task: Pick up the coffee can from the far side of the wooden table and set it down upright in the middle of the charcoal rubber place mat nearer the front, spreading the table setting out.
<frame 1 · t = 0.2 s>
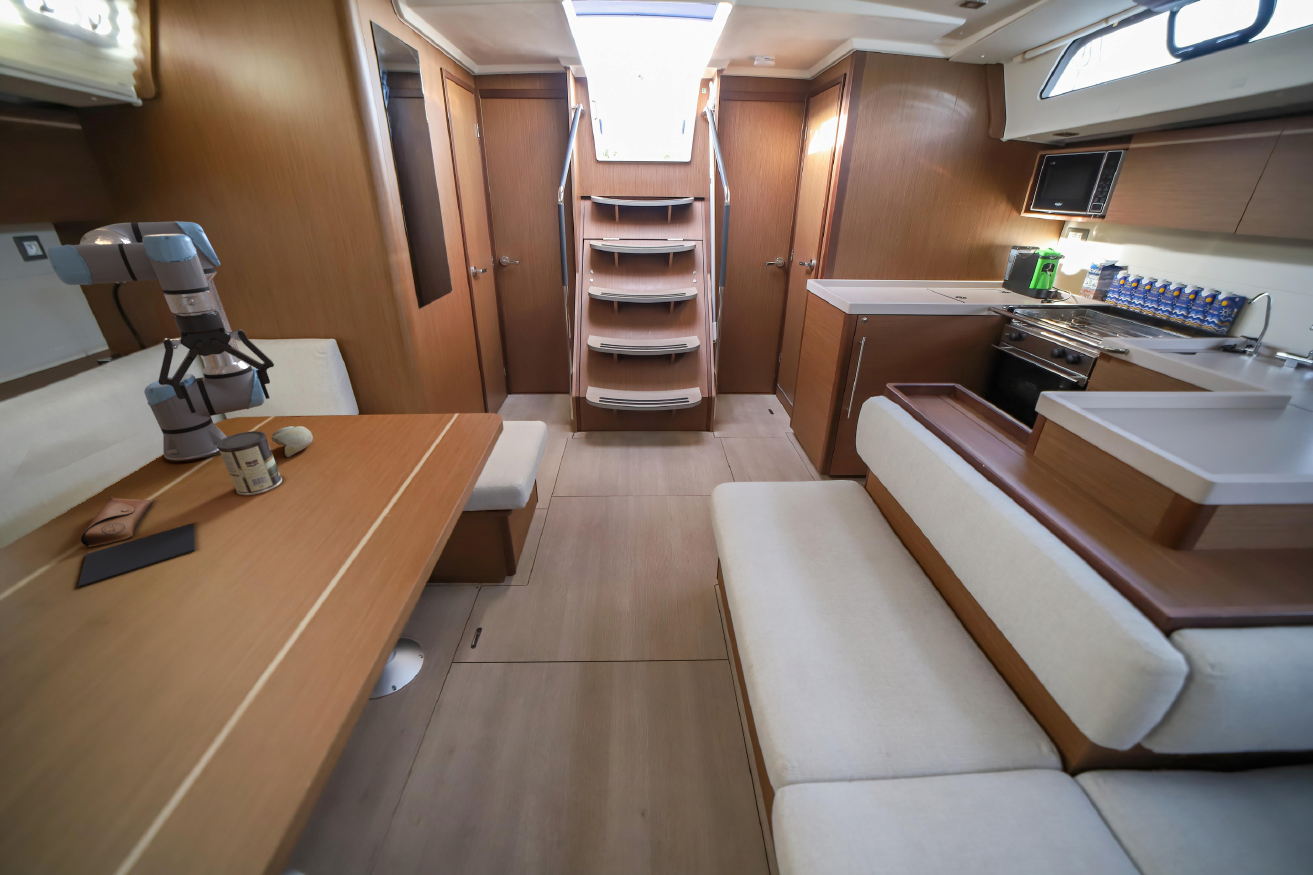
hand: (231, 404, 116), 28 cm above the table, tool pointing down, fingers open, 13 cm apart
sunglasses case: (123, 523, 120), on the table
place mat: (141, 553, 110), on the table
seashell: (296, 449, 156), on the table
coffee can: (259, 486, 136), on the table
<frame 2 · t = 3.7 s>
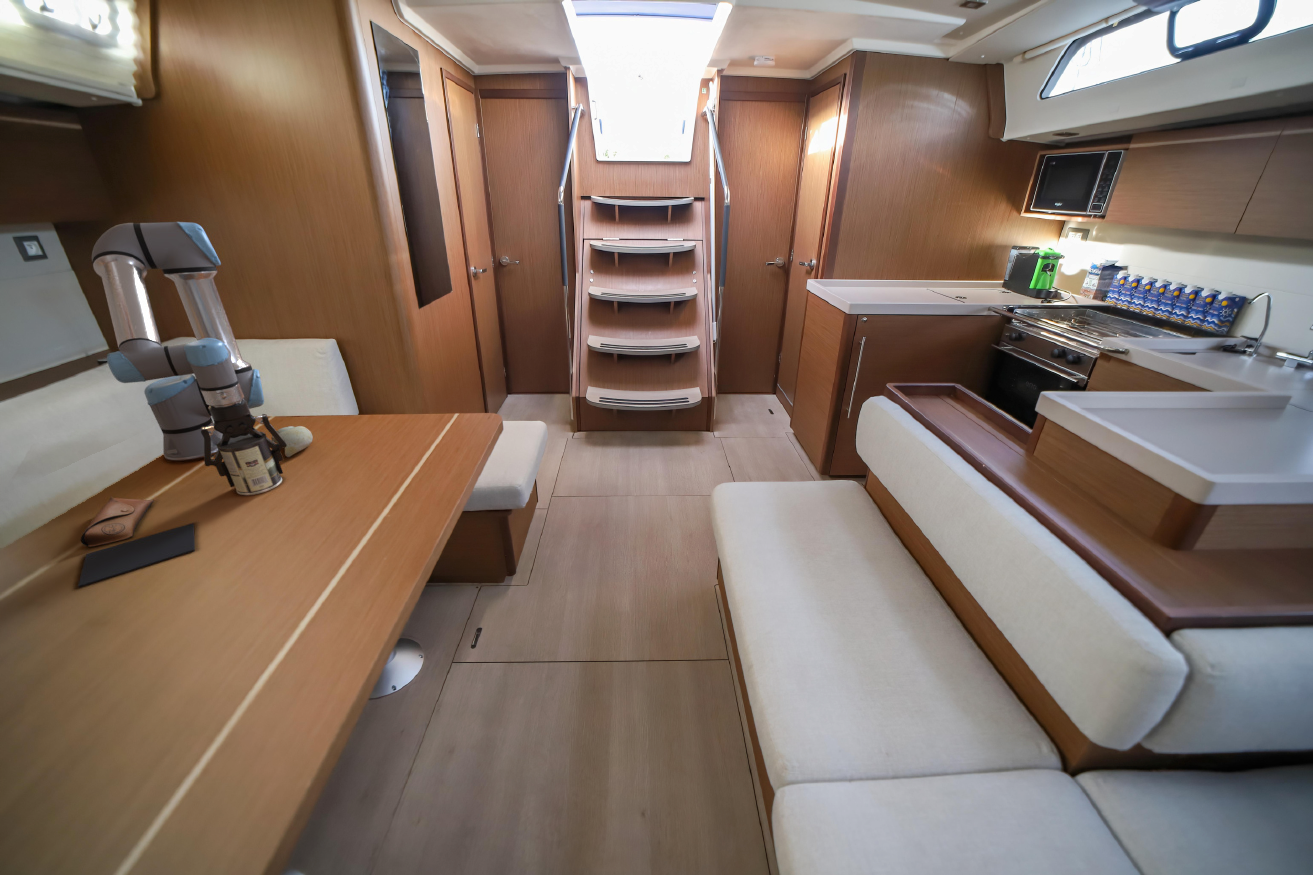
hand: (257, 478, 135), 2 cm above the table, tool pointing down, fingers closed on coffee can, 10 cm apart
coffee can: (259, 486, 136), on the table, touching gripper
everything else where it was.
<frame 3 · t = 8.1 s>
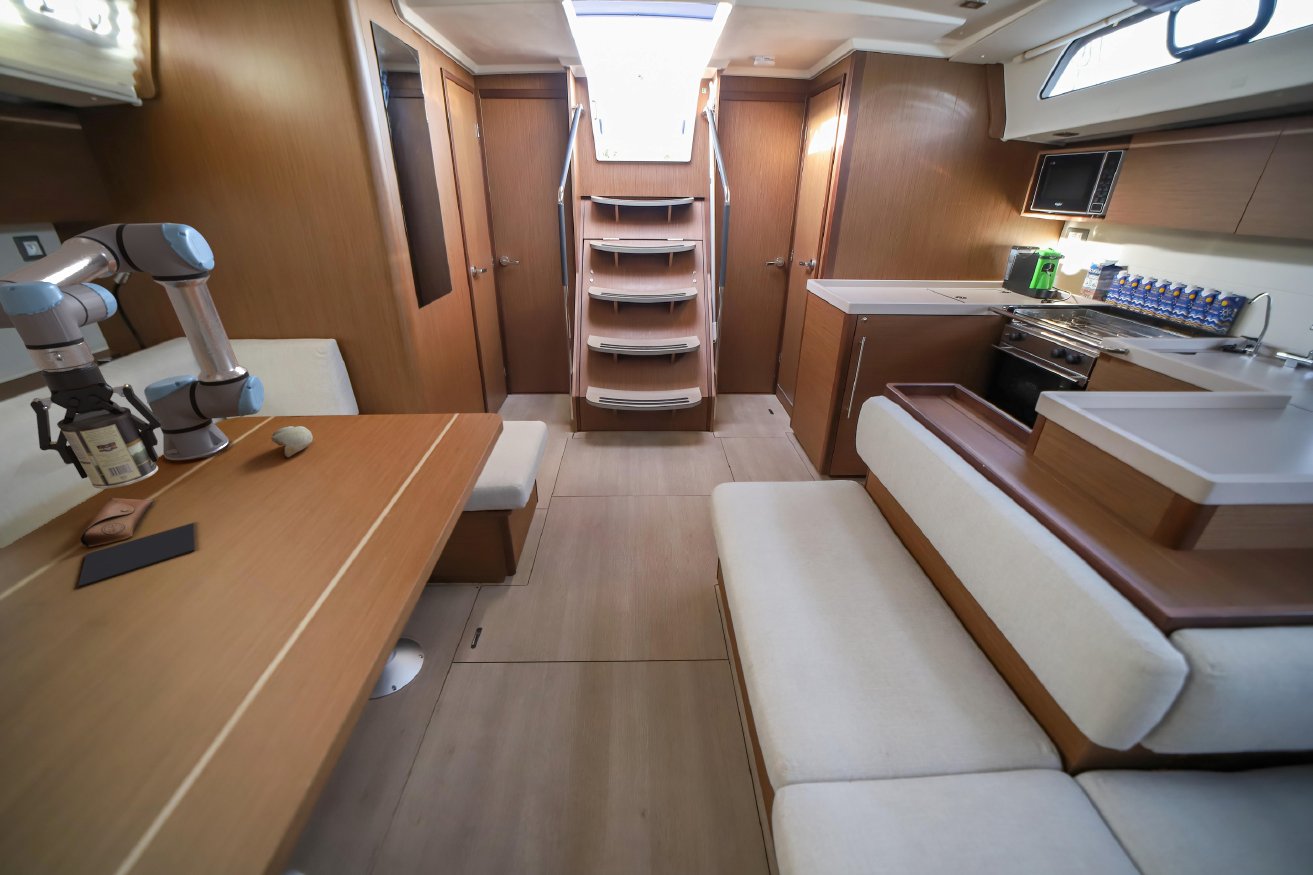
hand: (121, 467, 105), 20 cm above the table, tool pointing down, fingers closed on coffee can, 10 cm apart
coffee can: (126, 477, 106), point 17 cm above the table, touching gripper
everything else where it was.
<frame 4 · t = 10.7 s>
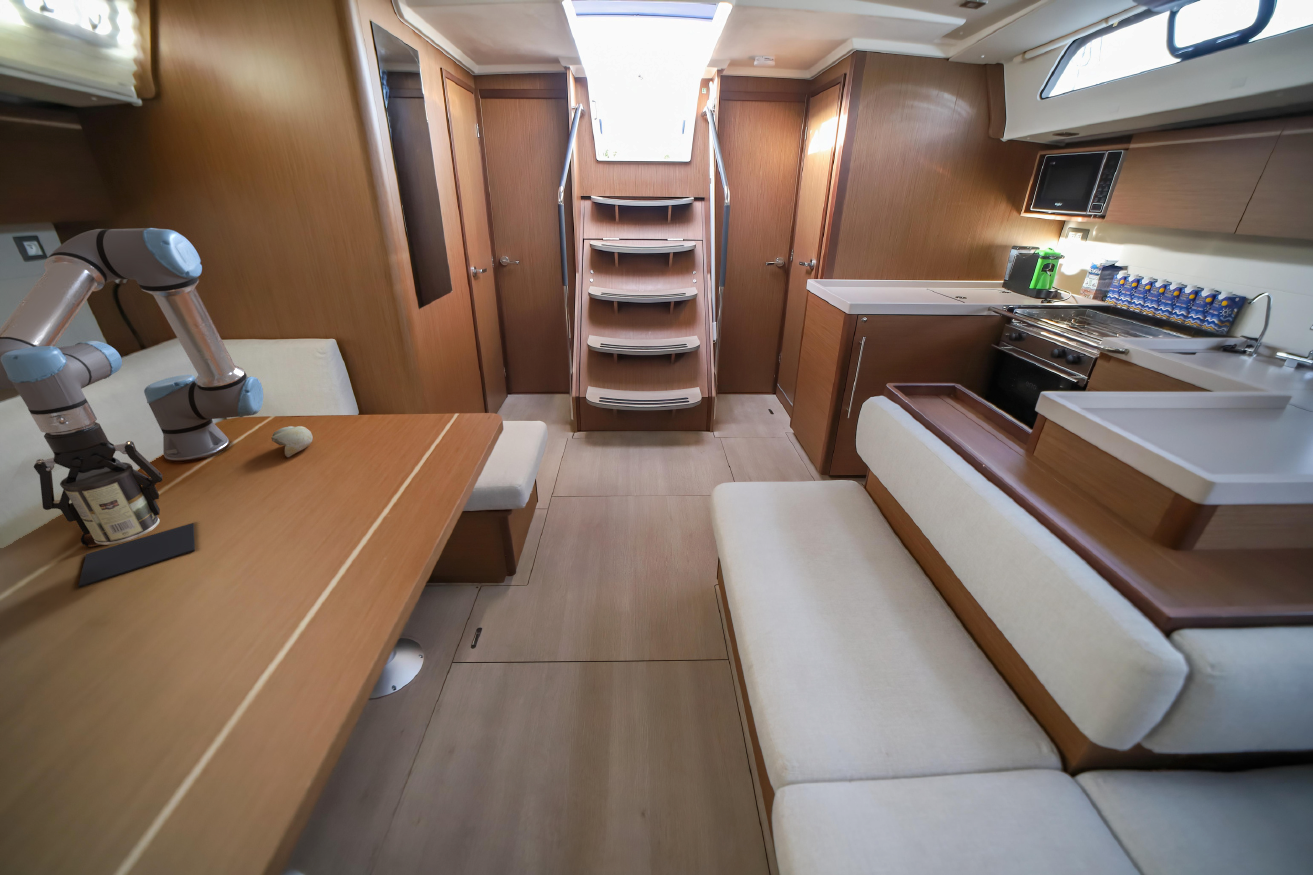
hand: (123, 521, 107), 8 cm above the table, tool pointing down, fingers closed on coffee can, 10 cm apart
coffee can: (128, 531, 108), point 6 cm above the table, touching gripper
everything else where it was.
when the fingers open (3 cm above the table, at t = 12.7 s): coffee can stays where it is, resting on place mat.
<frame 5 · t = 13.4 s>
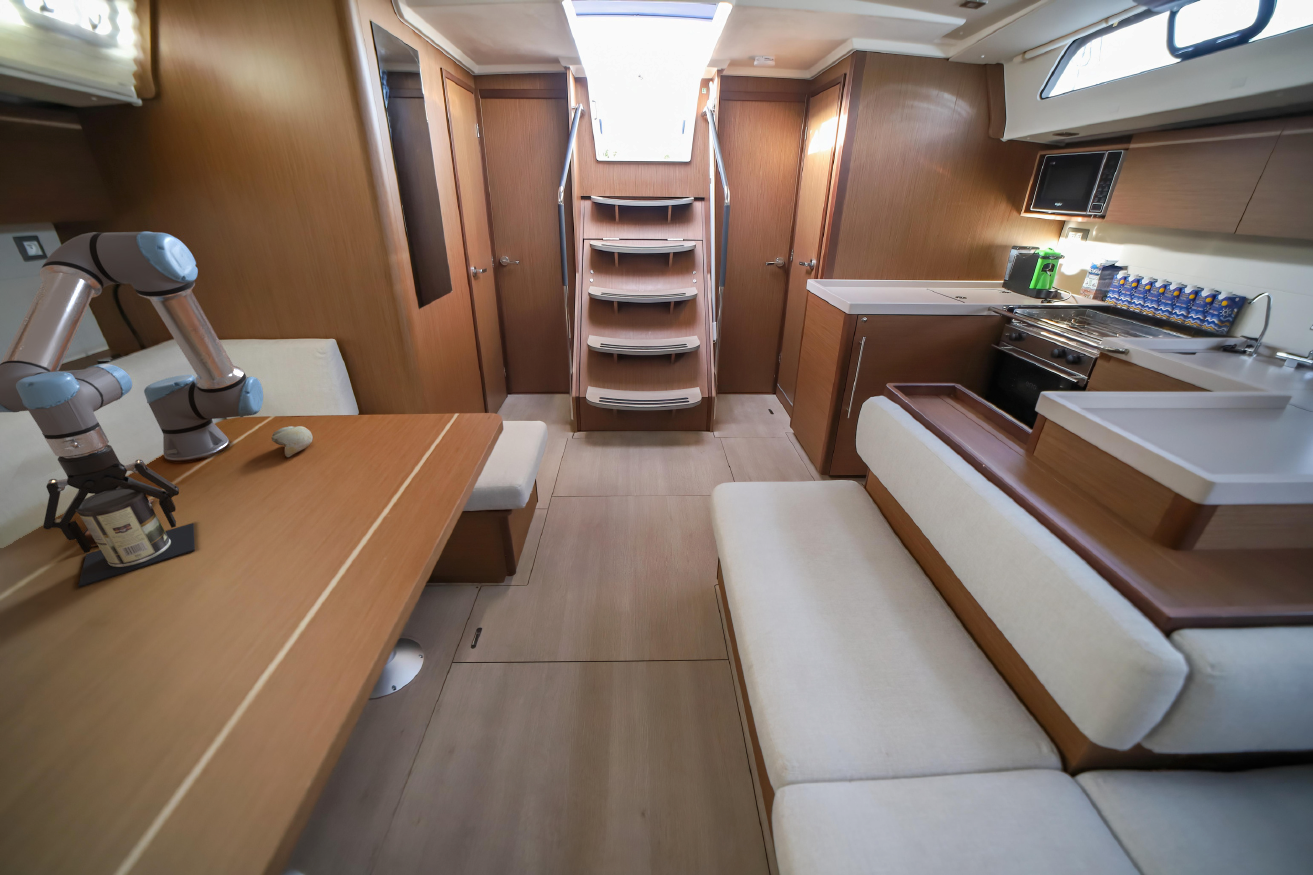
hand: (132, 536, 109), 4 cm above the table, tool pointing down, fingers open, 13 cm apart
coffee can: (140, 552, 110), resting on place mat
everything else where it was.
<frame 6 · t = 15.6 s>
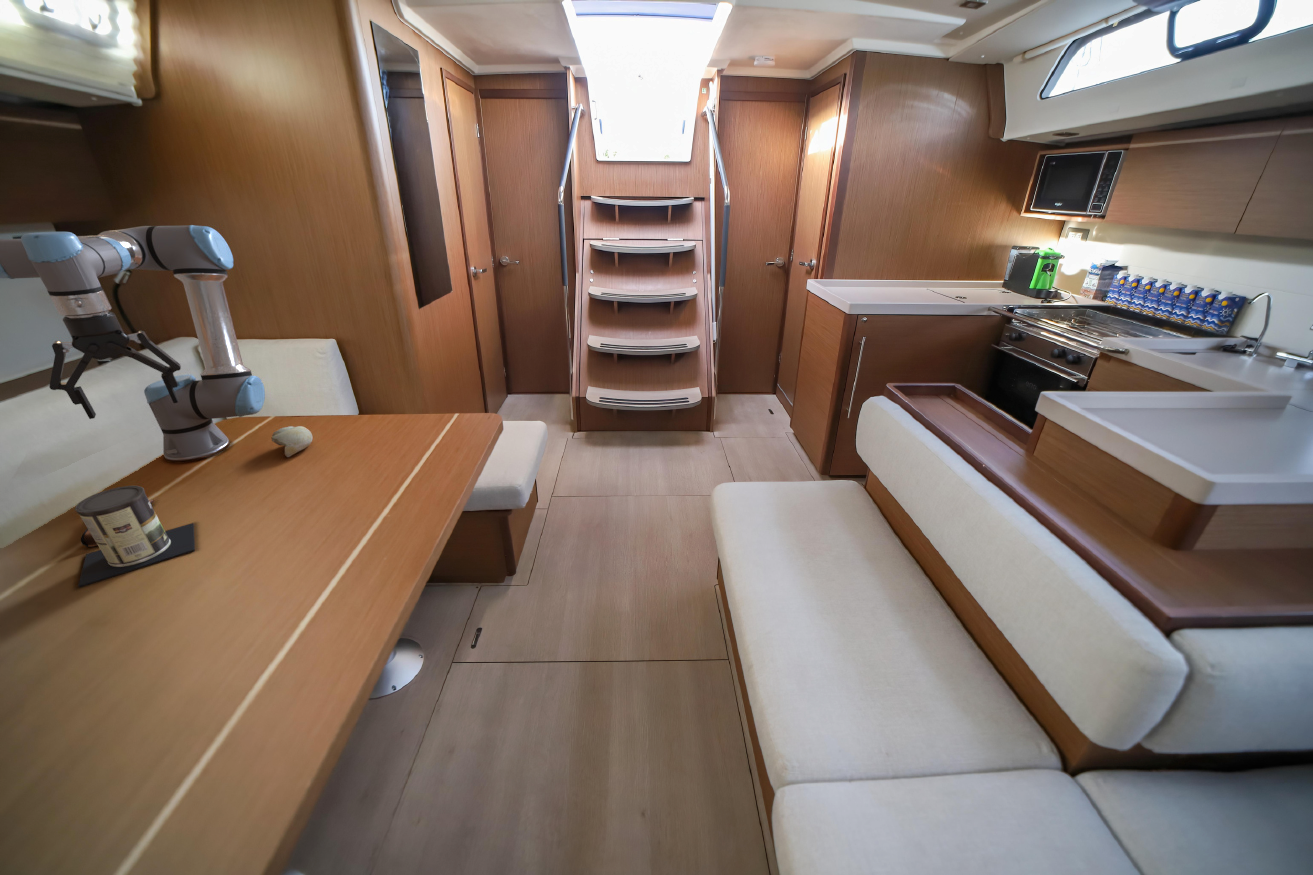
hand: (135, 408, 112), 28 cm above the table, tool pointing down, fingers open, 13 cm apart
nothing on the table moved.
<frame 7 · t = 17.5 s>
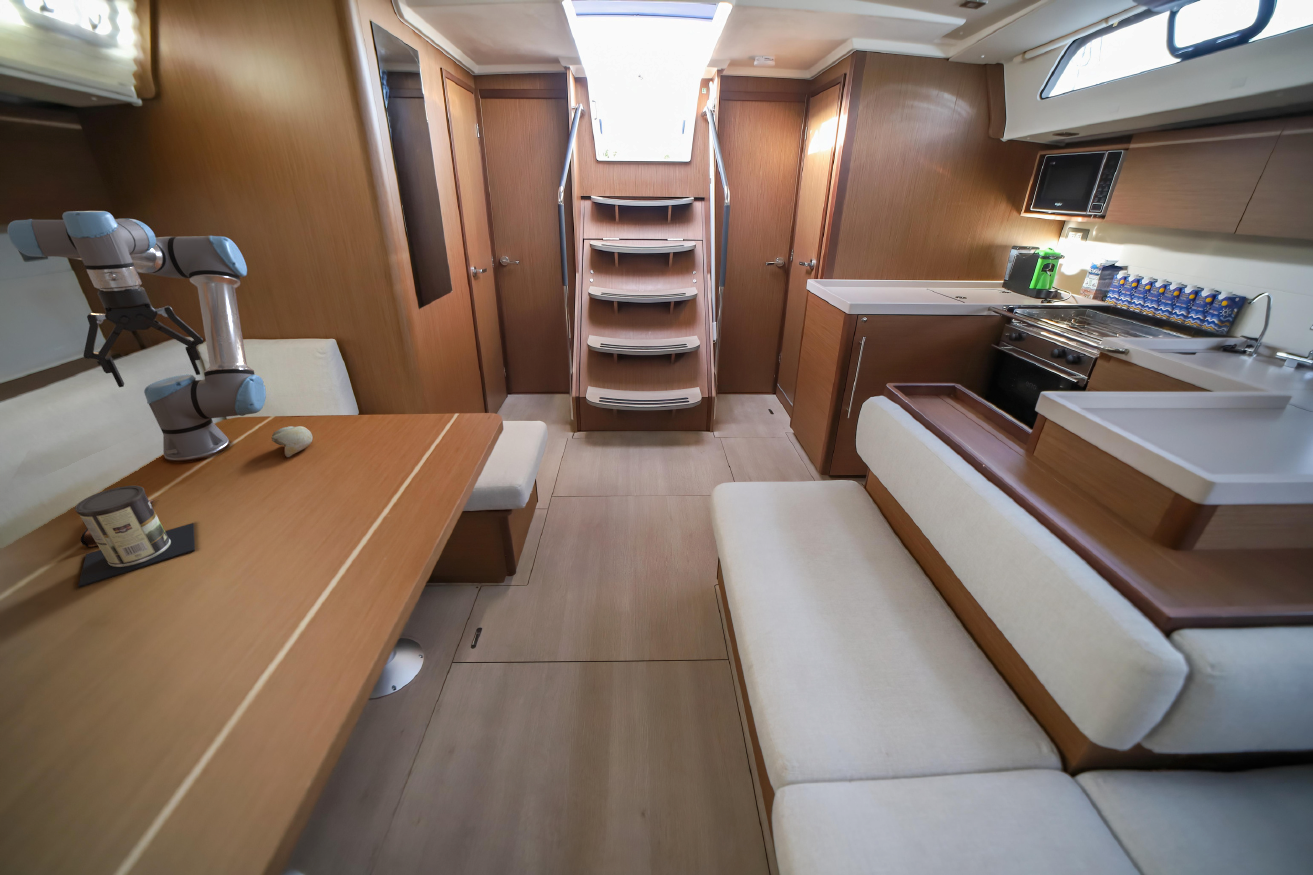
hand: (161, 379, 119), 32 cm above the table, tool pointing down, fingers open, 13 cm apart
nothing on the table moved.
at the end: coffee can inside the target area on the place mat (0.1 cm from its centre), point 0.2 cm above the place mat's base; coffee can tilted 0°; the gripper is holding nothing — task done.
